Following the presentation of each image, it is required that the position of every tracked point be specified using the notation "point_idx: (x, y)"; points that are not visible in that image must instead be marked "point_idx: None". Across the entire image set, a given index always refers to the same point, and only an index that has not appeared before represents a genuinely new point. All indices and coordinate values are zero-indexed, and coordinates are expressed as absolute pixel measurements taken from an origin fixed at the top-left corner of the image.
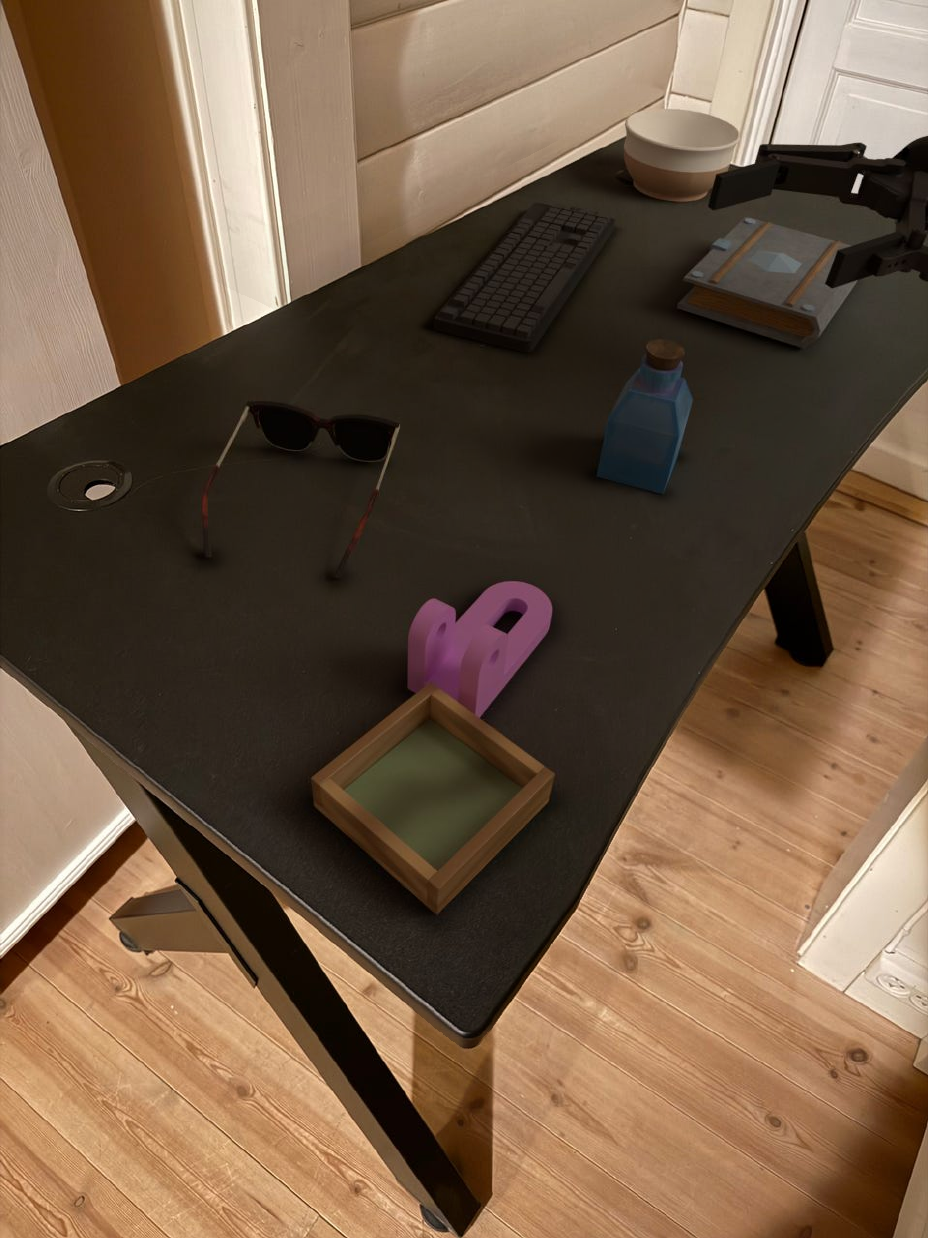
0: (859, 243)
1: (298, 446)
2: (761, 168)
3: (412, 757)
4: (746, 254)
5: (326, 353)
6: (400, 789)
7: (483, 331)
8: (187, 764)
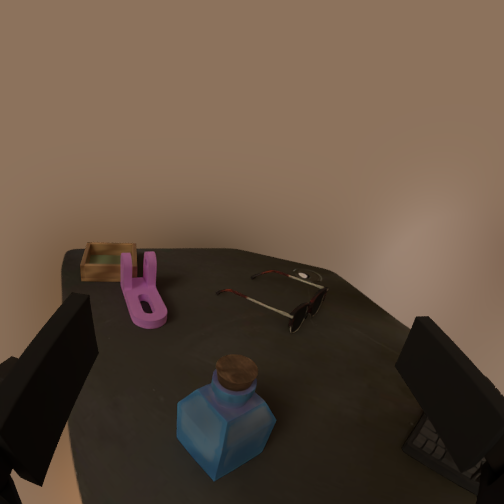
0: (62, 329)
1: (312, 314)
2: (471, 381)
3: None
4: None
5: (399, 352)
6: (119, 262)
7: (421, 419)
8: (171, 251)
